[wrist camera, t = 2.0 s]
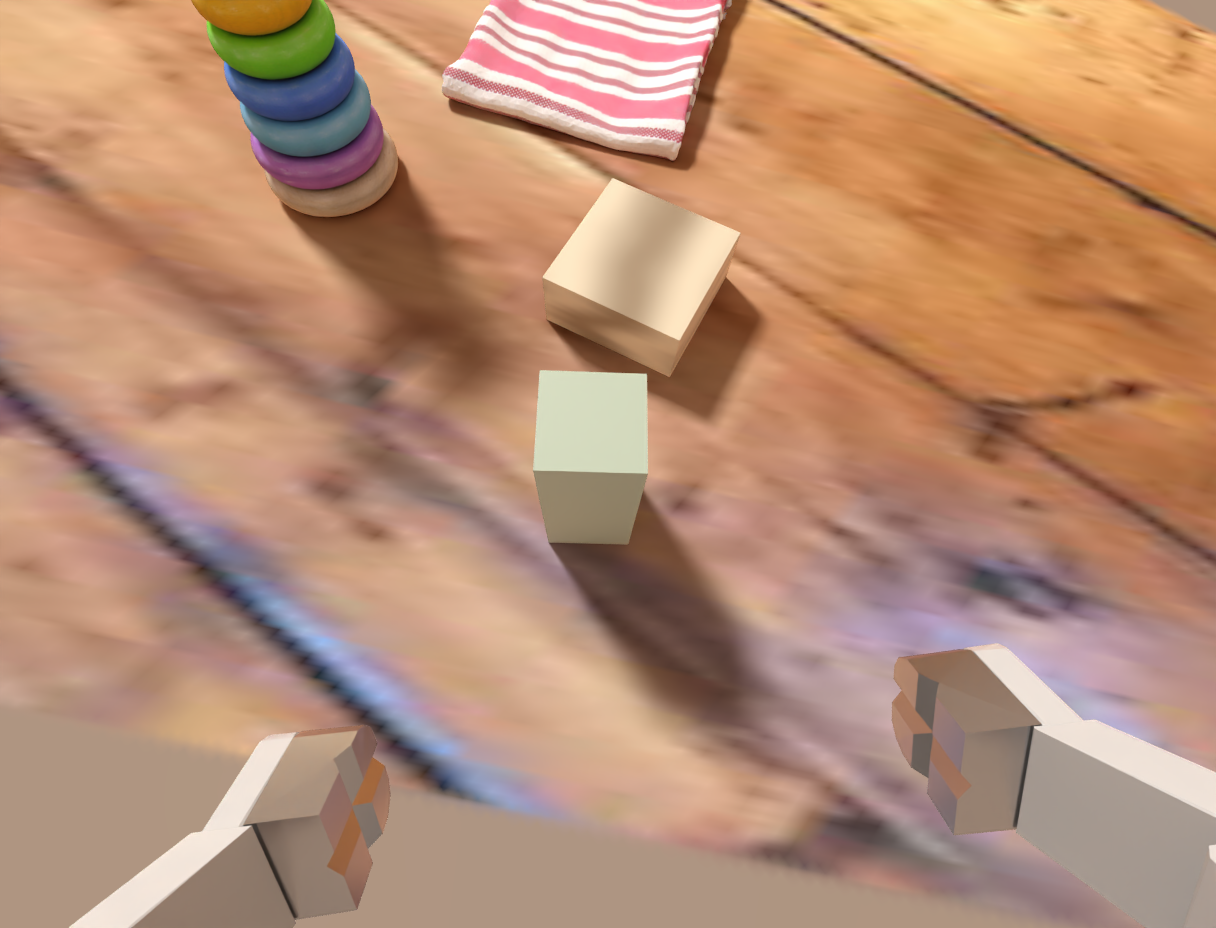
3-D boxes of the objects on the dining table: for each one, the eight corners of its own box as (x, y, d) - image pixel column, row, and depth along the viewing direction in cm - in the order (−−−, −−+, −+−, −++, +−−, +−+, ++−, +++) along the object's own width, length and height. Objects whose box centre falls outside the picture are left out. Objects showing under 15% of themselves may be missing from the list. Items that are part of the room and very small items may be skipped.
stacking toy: (424, 188, 39) (295, -236, 21) (308, 244, 37) (60, -174, 19) (365, 114, 41) (204, -325, 23) (252, 163, 39) (-15, -277, 21)
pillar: (548, 542, 30) (533, 470, 21) (552, 468, 32) (539, 370, 23) (628, 544, 30) (648, 473, 21) (628, 470, 32) (646, 373, 23)
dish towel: (745, -30, 49) (757, -82, 46) (676, 174, 41) (685, 128, 37) (546, -75, 50) (543, -128, 47) (438, 114, 42) (426, 64, 39)
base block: (546, 322, 36) (542, 277, 32) (609, 229, 38) (612, 178, 35) (668, 379, 34) (679, 340, 31) (724, 280, 37) (740, 233, 33)
